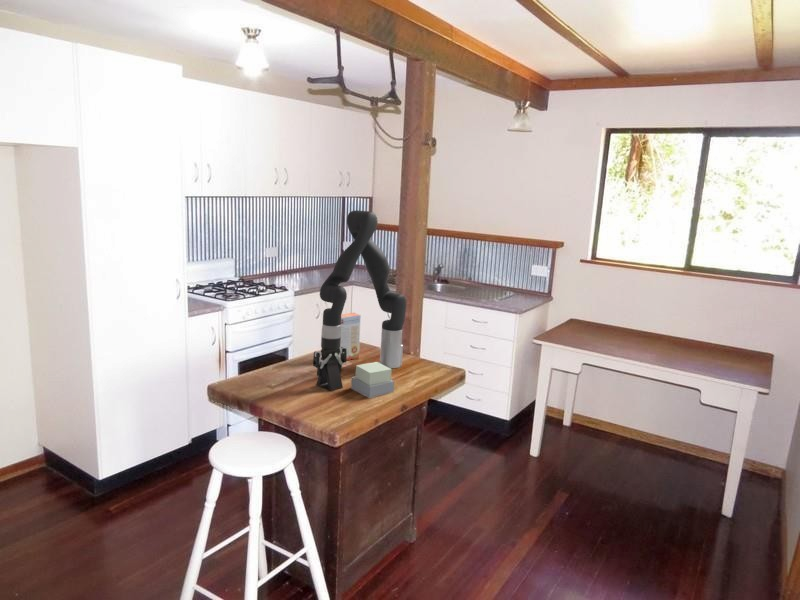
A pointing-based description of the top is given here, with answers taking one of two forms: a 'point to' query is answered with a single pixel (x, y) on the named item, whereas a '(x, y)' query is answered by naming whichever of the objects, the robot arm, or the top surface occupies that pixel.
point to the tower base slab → (371, 388)
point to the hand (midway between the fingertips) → (329, 375)
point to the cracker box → (350, 334)
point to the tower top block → (373, 373)
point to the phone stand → (330, 376)
